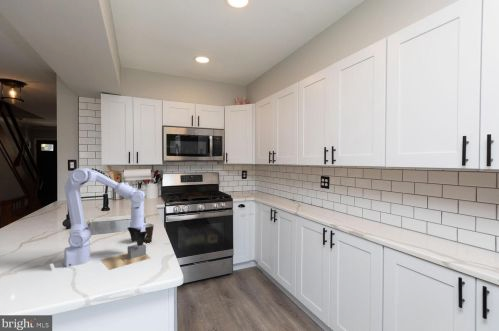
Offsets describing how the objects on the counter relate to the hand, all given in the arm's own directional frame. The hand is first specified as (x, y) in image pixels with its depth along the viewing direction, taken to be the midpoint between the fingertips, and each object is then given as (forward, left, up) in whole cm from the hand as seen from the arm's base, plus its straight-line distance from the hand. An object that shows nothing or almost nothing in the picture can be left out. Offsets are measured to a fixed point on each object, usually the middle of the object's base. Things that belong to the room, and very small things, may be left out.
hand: (137, 243), depth 115 cm
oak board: (-5, 0, -7) cm, 9 cm away
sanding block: (0, 0, -6) cm, 6 cm away
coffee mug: (+11, +21, -8) cm, 25 cm away
